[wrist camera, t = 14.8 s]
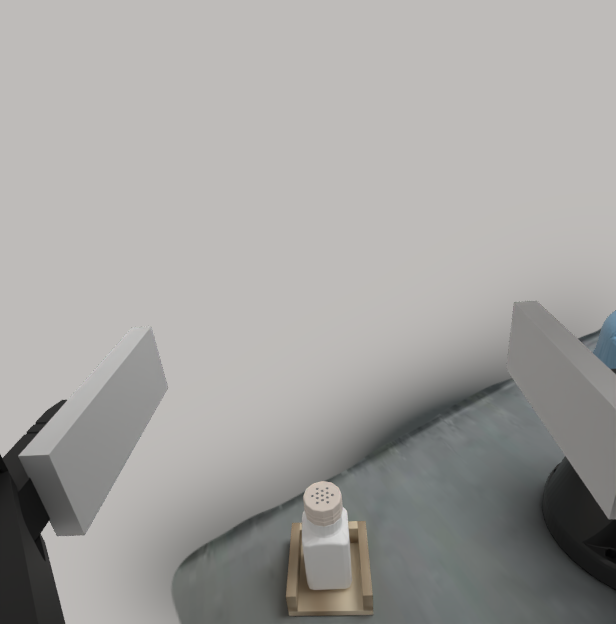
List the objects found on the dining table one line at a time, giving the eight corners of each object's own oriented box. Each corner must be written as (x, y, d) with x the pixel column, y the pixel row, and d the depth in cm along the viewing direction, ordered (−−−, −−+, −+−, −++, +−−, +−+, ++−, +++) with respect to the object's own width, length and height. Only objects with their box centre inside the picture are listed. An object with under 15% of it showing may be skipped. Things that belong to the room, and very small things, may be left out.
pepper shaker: (307, 593, 39) (297, 516, 35) (308, 552, 42) (299, 478, 38) (352, 591, 38) (348, 514, 35) (349, 550, 42) (344, 476, 38)
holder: (366, 539, 44) (365, 521, 43) (373, 615, 37) (372, 595, 36) (294, 541, 44) (292, 523, 43) (289, 615, 38) (285, 596, 37)
